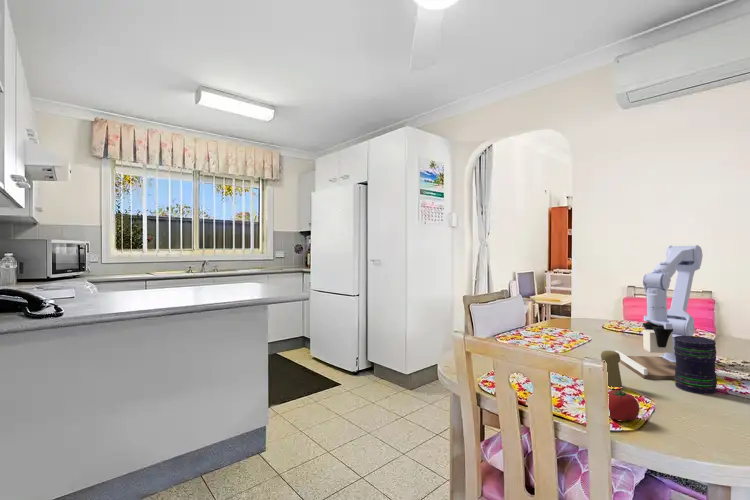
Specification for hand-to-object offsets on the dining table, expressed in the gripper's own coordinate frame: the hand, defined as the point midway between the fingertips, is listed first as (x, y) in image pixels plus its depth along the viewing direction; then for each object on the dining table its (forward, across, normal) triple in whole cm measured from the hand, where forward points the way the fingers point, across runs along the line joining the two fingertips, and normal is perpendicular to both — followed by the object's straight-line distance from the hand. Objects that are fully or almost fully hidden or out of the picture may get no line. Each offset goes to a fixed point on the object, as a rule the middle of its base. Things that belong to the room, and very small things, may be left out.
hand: (657, 345), depth 135 cm
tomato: (+8, +43, -30) cm, 53 cm away
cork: (+8, +20, -23) cm, 32 cm away
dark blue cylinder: (+8, +20, 0) cm, 21 cm away
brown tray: (+8, +1, -2) cm, 8 cm away
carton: (+2, 0, 0) cm, 2 cm away
